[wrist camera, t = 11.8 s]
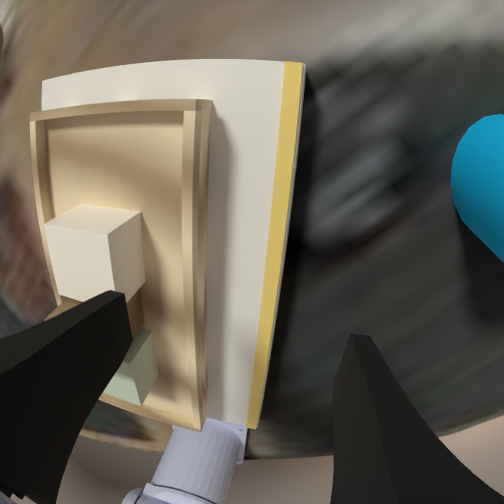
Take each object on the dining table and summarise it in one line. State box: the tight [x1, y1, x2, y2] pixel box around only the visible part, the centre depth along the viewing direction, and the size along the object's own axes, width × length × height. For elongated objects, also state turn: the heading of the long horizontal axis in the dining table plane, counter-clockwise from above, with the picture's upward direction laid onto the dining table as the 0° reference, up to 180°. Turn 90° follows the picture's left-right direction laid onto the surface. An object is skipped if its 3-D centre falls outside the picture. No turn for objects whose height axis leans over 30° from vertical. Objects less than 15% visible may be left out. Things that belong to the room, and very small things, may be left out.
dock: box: [42, 59, 306, 429], centre depth 20 cm, size 26×16×3 cm, turn 176°
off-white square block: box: [44, 204, 146, 303], centre depth 15 cm, size 4×4×3 cm
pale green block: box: [103, 329, 159, 406], centre depth 18 cm, size 4×4×3 cm
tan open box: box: [30, 99, 212, 433], centre depth 16 cm, size 22×10×7 cm, turn 176°
